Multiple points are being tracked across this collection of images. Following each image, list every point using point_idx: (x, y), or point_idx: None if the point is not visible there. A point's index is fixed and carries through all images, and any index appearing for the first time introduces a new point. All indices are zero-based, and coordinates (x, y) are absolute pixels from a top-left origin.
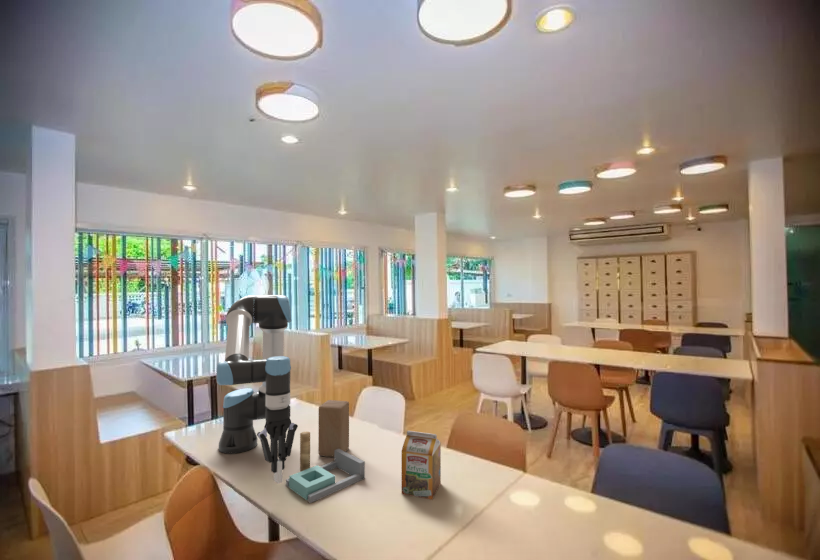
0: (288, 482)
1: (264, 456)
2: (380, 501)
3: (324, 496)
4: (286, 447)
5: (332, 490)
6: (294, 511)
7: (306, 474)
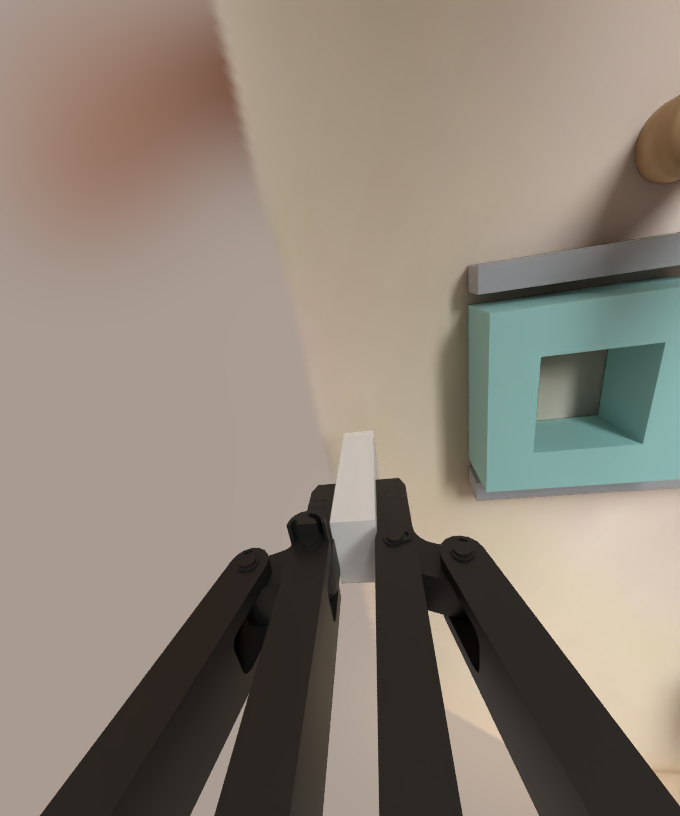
0: (477, 294)
1: (211, 588)
2: (661, 613)
3: None
4: (491, 621)
5: None
6: None
7: (587, 349)
